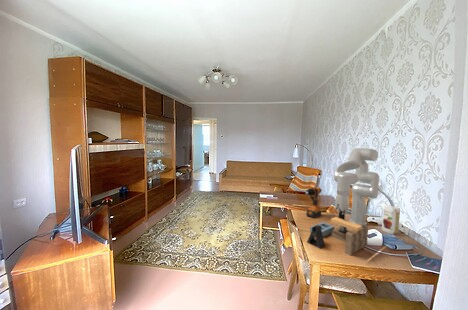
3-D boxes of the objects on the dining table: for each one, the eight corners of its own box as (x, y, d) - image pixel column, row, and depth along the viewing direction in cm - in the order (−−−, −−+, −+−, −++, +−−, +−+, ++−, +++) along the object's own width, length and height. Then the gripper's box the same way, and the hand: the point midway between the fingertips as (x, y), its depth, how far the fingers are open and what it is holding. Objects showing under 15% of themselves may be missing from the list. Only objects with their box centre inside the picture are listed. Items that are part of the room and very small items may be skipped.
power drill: (309, 220, 162) (311, 190, 160) (301, 217, 168) (303, 189, 166) (322, 214, 175) (324, 187, 173) (314, 212, 181) (316, 185, 179)
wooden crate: (339, 233, 140) (340, 216, 138) (367, 245, 125) (369, 225, 124) (320, 242, 126) (321, 223, 125) (350, 256, 112) (351, 235, 111)
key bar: (335, 219, 131) (335, 216, 131) (361, 229, 118) (362, 225, 118) (330, 221, 128) (330, 218, 127) (357, 231, 114) (357, 228, 114)
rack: (322, 228, 148) (322, 221, 147) (334, 233, 140) (334, 226, 140) (309, 233, 139) (310, 226, 138) (321, 239, 131) (322, 232, 131)
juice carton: (386, 228, 149) (388, 204, 148) (399, 233, 141) (401, 208, 140) (380, 230, 147) (382, 205, 145) (392, 235, 139) (394, 209, 137)
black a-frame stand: (325, 245, 123) (326, 227, 122) (320, 248, 120) (321, 229, 119) (311, 239, 130) (312, 222, 129) (306, 242, 127) (307, 224, 126)
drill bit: (341, 235, 135) (342, 218, 134) (347, 237, 132) (348, 220, 131) (338, 236, 133) (339, 219, 132) (344, 239, 130) (345, 221, 129)
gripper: (343, 190, 135) (341, 215, 137) (331, 193, 127) (329, 220, 128) (354, 192, 129) (352, 219, 131) (343, 195, 121) (341, 224, 122)
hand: (341, 219), depth 129 cm, fingers closed
